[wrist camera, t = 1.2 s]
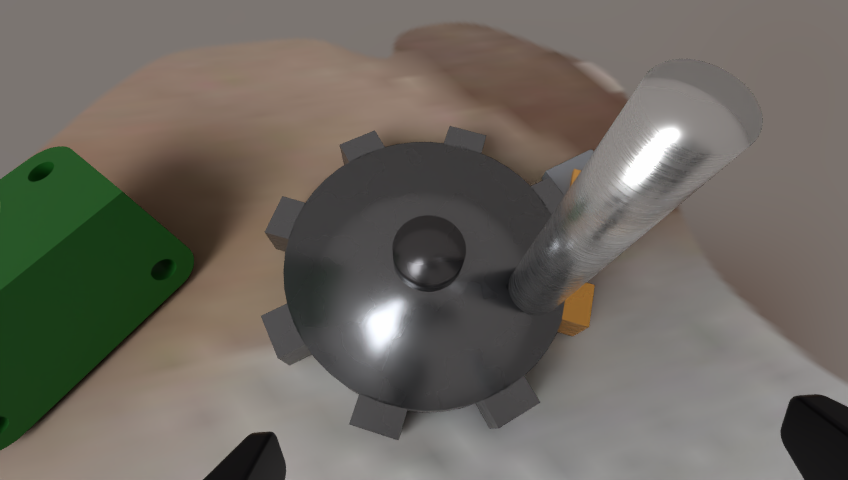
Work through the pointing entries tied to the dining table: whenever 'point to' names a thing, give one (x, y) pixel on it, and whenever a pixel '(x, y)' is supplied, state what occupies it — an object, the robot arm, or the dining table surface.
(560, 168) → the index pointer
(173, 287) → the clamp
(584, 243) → the sprocket
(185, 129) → the dining table surface
